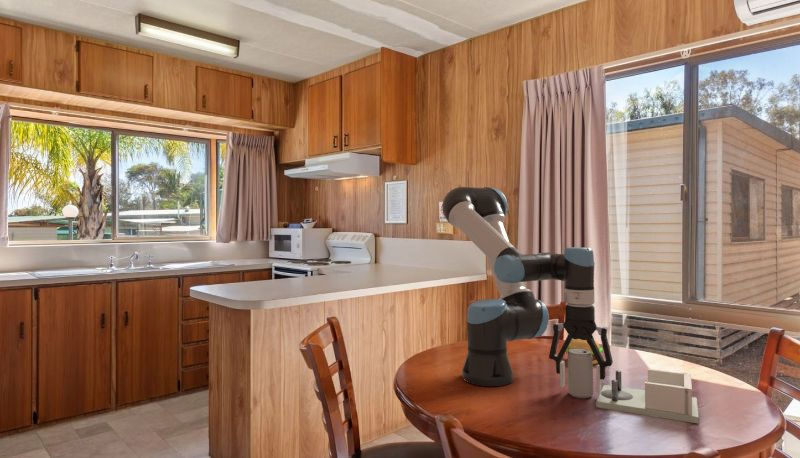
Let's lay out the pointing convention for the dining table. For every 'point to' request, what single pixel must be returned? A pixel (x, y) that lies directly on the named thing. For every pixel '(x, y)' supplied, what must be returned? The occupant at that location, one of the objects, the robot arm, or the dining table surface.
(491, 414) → the dining table surface
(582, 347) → the hamburger
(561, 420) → the dining table surface
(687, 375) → the housing
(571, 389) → the beverage can
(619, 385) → the pins
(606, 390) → the board
